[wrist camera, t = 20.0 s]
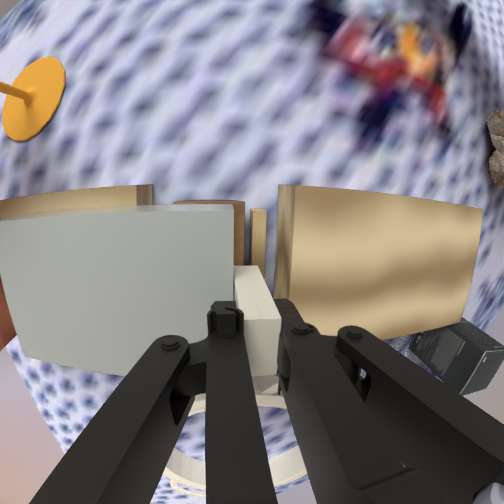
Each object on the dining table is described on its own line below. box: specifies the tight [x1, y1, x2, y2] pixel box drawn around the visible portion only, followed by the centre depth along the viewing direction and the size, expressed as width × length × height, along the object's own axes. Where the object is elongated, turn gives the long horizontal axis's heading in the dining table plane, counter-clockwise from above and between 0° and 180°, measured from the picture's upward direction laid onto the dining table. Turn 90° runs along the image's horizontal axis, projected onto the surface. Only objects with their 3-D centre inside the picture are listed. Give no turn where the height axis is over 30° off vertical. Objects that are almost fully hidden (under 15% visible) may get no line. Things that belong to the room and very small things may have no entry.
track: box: [0, 184, 483, 351], centre depth 17 cm, size 12×46×10 cm, turn 89°
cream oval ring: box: [163, 375, 307, 497], centre depth 26 cm, size 29×22×5 cm
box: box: [409, 317, 504, 396], centre depth 23 cm, size 8×6×11 cm
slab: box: [0, 204, 234, 376], centre depth 15 cm, size 10×16×4 cm, turn 89°
